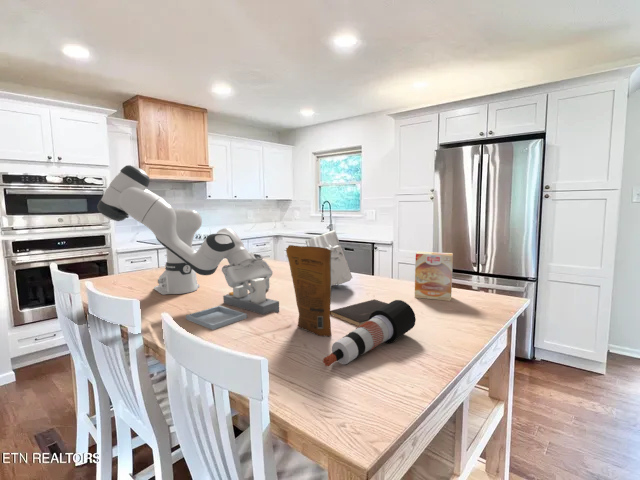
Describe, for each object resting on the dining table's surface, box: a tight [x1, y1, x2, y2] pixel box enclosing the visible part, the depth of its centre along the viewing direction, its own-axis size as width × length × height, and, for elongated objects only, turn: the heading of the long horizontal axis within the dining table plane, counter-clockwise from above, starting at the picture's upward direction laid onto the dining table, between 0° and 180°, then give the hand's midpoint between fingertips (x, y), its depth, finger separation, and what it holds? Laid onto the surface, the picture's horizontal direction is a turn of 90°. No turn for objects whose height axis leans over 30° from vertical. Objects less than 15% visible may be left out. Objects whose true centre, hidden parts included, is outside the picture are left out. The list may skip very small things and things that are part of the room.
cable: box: [322, 299, 417, 367], centre depth 95 cm, size 10×34×10 cm, turn 134°
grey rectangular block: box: [249, 278, 267, 304], centre depth 130 cm, size 4×4×9 cm
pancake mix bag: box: [285, 244, 333, 337], centre depth 109 cm, size 7×19×28 cm, turn 43°
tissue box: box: [305, 229, 353, 287], centre depth 168 cm, size 21×17×26 cm
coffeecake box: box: [414, 251, 454, 302], centre depth 146 cm, size 15×7×20 cm, turn 68°
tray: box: [185, 305, 248, 331], centre depth 120 cm, size 16×14×2 cm
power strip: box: [222, 285, 280, 316], centre depth 134 cm, size 24×8×8 cm, turn 52°
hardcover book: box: [330, 299, 389, 327], centre depth 126 cm, size 16×23×2 cm
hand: (259, 290), depth 130 cm, fingers closed on grey rectangular block, 4 cm apart
